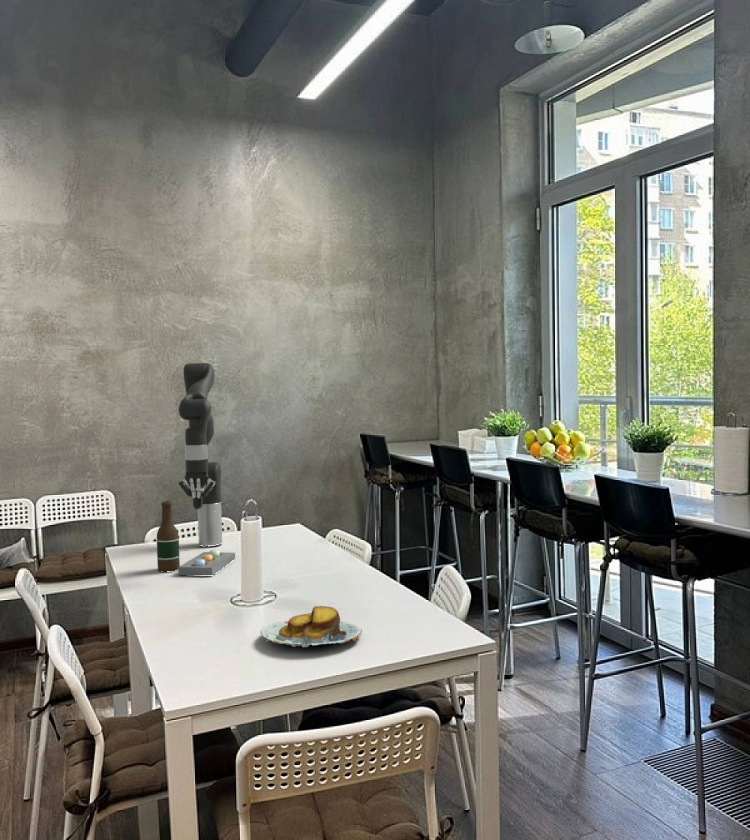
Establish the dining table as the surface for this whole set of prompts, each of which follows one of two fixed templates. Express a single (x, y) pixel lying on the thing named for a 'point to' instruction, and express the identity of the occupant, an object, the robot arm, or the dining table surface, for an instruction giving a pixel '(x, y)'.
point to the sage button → (215, 553)
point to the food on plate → (312, 629)
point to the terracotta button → (207, 557)
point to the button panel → (206, 564)
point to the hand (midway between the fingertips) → (198, 508)
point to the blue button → (199, 562)
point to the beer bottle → (167, 541)
